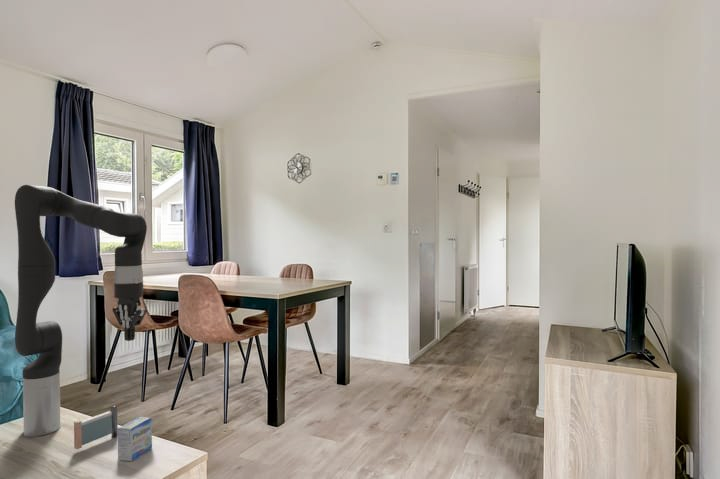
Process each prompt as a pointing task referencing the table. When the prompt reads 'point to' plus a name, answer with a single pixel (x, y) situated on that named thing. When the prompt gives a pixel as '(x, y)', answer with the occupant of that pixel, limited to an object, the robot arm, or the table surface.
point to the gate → (92, 429)
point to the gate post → (114, 421)
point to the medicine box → (134, 438)
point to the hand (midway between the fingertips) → (129, 340)
